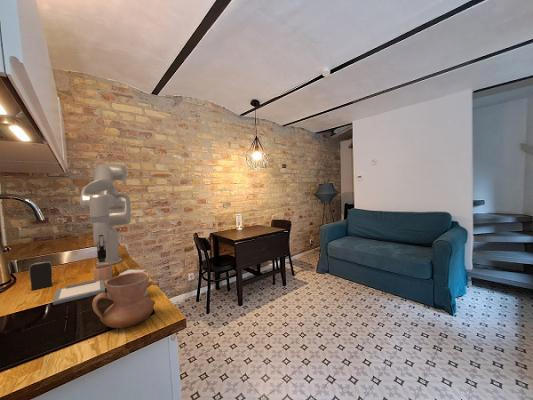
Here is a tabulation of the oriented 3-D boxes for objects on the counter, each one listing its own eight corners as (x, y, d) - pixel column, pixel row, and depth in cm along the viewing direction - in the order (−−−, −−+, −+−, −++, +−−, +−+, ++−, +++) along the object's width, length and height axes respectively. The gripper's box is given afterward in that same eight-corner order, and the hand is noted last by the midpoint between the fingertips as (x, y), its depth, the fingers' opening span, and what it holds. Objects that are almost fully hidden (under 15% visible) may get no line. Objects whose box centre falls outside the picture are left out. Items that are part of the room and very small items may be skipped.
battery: (53, 283, 104) (51, 259, 104) (52, 286, 101) (51, 261, 101) (31, 288, 100) (29, 263, 99) (30, 291, 97) (28, 265, 96)
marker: (97, 261, 109) (96, 241, 108) (106, 260, 111) (105, 240, 111) (97, 263, 106) (96, 242, 106) (106, 261, 108) (105, 241, 108)
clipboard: (57, 291, 96) (57, 287, 96) (103, 281, 105) (103, 278, 105) (53, 305, 85) (52, 300, 84) (105, 292, 94) (104, 288, 94)
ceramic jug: (153, 303, 85) (152, 266, 84) (162, 320, 73) (160, 278, 73) (94, 320, 74) (92, 278, 74) (93, 344, 63) (90, 294, 62)
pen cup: (94, 278, 110) (93, 266, 110) (111, 274, 114) (110, 263, 114) (94, 282, 104) (93, 270, 104) (112, 279, 109) (111, 266, 108)
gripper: (90, 219, 112) (92, 255, 113) (90, 222, 99) (92, 263, 100) (108, 218, 117) (110, 252, 117) (110, 220, 104) (112, 259, 104)
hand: (101, 257), depth 108 cm, fingers closed on marker, 3 cm apart
